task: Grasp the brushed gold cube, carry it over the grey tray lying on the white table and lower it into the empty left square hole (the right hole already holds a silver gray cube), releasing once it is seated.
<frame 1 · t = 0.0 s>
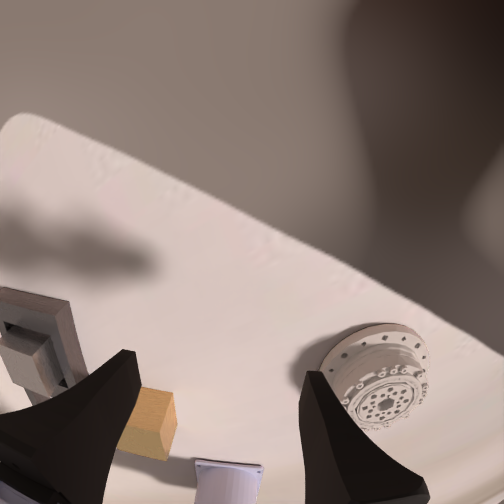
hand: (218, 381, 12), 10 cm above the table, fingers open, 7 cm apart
grey tray: (58, 374, 27), on the table
mechanical component: (372, 367, 25), on the table
silver gray cube: (47, 341, 26), resting in grey tray
brushed gold cube: (151, 404, 27), on the table
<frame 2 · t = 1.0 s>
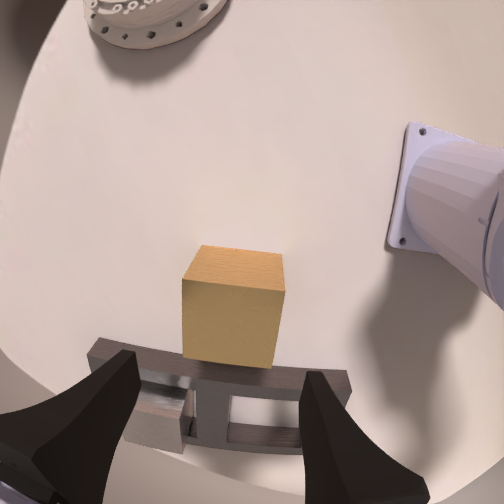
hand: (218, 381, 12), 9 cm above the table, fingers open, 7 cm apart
grey tray: (216, 398, 24), on the table
silver gray cube: (165, 388, 25), resting in grey tray
brushed gold cube: (238, 284, 21), on the table
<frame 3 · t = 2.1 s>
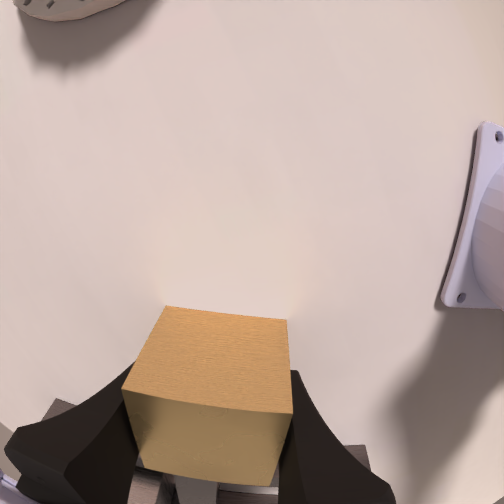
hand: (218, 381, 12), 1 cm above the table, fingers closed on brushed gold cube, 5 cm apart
grey tray: (201, 470, 17), on the table
silver gray cube: (140, 456, 18), resting in grey tray
brushed gold cube: (222, 359, 14), on the table, touching gripper
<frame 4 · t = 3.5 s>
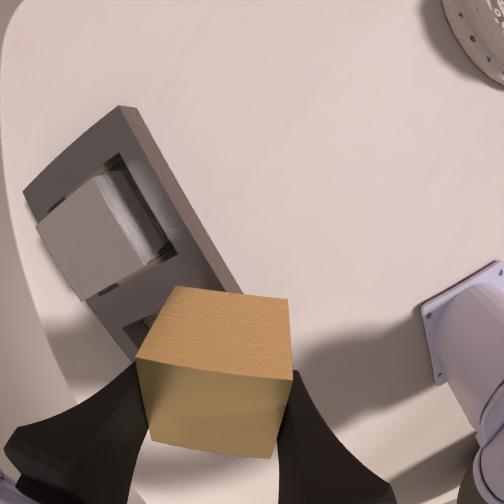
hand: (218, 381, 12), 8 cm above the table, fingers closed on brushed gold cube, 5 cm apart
grey tray: (158, 277, 20), on the table
bowl: (501, 438, 27), on the table
mechanical component: (491, 26, 13), on the table
silver gray cube: (123, 219, 19), resting in grey tray
brushed gold cube: (227, 337, 15), point 6 cm above the table, touching gripper
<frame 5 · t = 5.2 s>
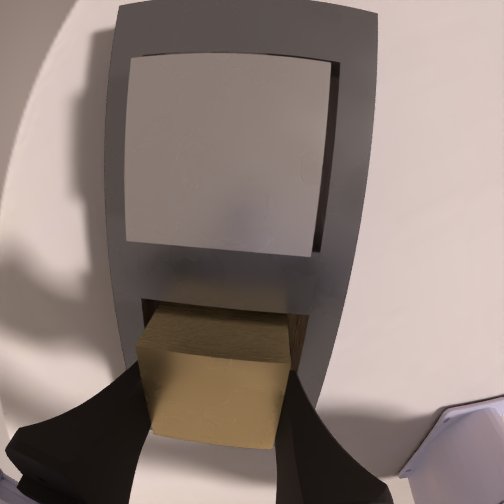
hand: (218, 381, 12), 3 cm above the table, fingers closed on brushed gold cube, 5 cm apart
grey tray: (231, 253, 13), on the table
silver gray cube: (238, 145, 12), resting in grey tray
brushed gold cube: (226, 331, 15), resting in grey tray, touching gripper
when the fingers open (3 cm above the table, at t = 5.3 s): brushed gold cube stays where it is, resting in grey tray.
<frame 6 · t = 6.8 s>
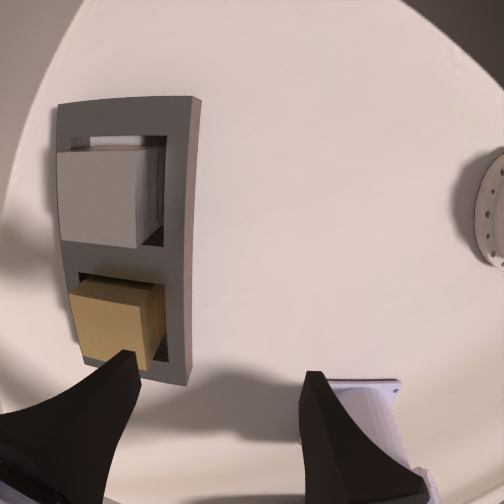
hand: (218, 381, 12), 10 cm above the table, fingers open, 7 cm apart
grey tray: (130, 247, 21), on the table
silver gray cube: (130, 183, 19), resting in grey tray
brushed gold cube: (134, 296, 23), resting in grey tray
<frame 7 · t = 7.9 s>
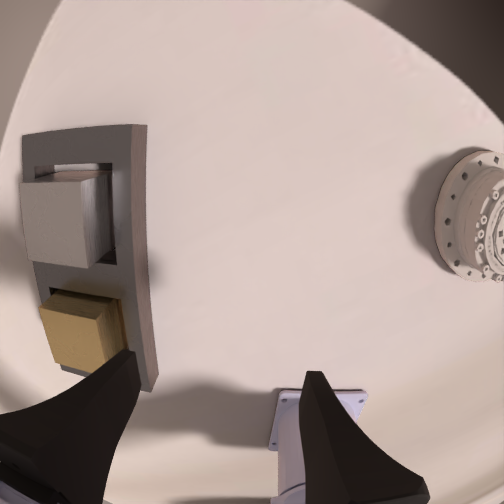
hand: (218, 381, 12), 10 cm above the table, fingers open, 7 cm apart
grey tray: (94, 263, 22), on the table
mechanical component: (481, 214, 19), on the table
silver gray cube: (90, 204, 20), resting in grey tray
brushed gold cube: (101, 308, 23), resting in grey tray
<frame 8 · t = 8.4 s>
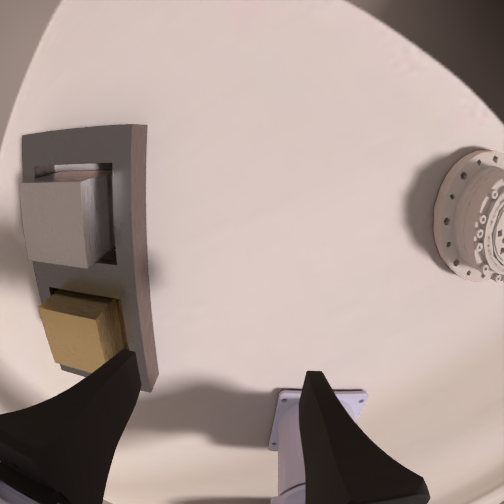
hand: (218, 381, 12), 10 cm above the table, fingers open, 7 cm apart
grey tray: (94, 263, 22), on the table
mechanical component: (480, 213, 19), on the table
silver gray cube: (90, 204, 20), resting in grey tray
brushed gold cube: (101, 308, 23), resting in grey tray
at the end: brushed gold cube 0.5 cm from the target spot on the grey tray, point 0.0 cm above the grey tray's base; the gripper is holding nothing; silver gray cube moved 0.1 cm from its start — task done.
